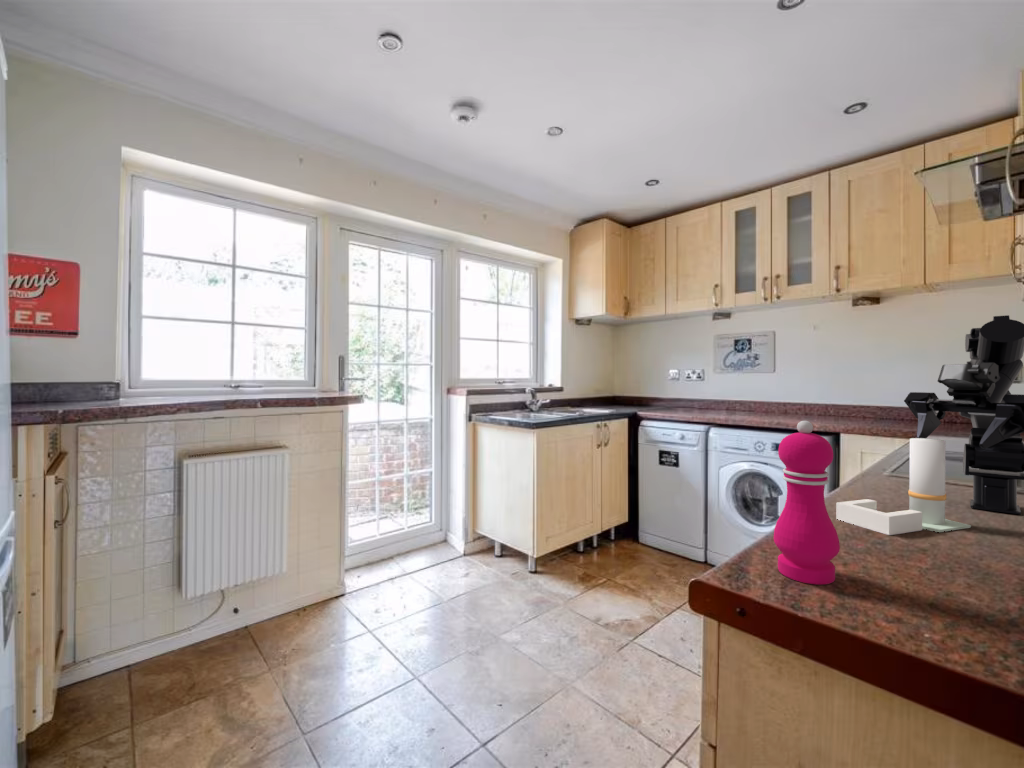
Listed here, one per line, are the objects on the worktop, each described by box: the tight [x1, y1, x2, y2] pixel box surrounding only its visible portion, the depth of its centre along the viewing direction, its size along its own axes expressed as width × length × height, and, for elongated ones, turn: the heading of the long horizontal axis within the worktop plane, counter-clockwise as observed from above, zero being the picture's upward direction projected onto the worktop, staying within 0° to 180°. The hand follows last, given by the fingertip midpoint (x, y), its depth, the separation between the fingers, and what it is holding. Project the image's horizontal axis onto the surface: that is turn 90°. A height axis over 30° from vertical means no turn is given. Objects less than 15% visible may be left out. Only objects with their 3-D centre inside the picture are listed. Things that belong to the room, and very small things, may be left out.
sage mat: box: [922, 518, 972, 533], centre depth 79 cm, size 8×8×1 cm
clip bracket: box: [835, 498, 923, 536], centre depth 79 cm, size 8×9×3 cm
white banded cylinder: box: [907, 437, 947, 525], centre depth 79 cm, size 5×5×14 cm
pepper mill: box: [773, 420, 841, 586], centre depth 59 cm, size 7×7×20 cm
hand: (948, 443), depth 81 cm, fingers open, 9 cm apart
